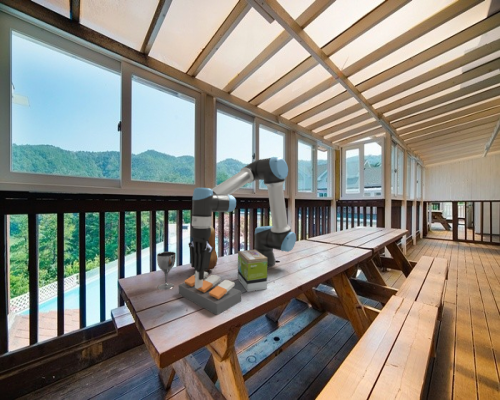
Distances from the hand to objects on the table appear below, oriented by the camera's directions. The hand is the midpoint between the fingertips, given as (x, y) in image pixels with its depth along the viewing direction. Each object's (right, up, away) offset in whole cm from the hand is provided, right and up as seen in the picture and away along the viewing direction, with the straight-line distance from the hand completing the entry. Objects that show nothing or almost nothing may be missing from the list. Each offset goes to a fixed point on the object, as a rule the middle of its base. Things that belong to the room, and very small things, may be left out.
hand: (198, 287), depth 81 cm
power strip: (+6, -6, +8) cm, 11 cm away
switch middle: (+3, -1, +4) cm, 5 cm away
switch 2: (+10, -1, -1) cm, 10 cm away
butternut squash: (-5, -6, +34) cm, 35 cm away
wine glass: (-18, -6, +14) cm, 24 cm away
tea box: (+21, -7, +18) cm, 28 cm away
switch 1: (-3, -1, +9) cm, 10 cm away
